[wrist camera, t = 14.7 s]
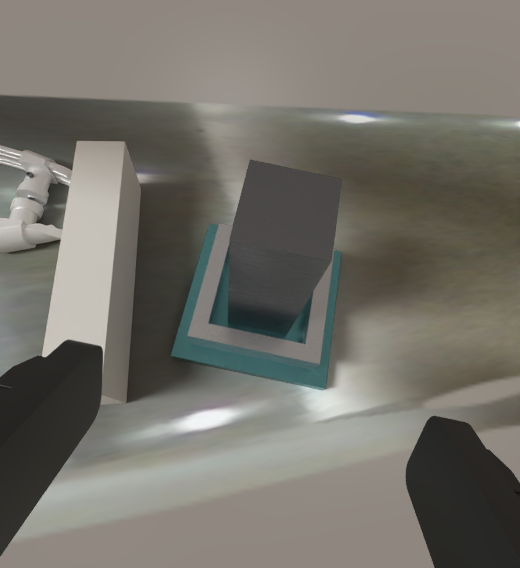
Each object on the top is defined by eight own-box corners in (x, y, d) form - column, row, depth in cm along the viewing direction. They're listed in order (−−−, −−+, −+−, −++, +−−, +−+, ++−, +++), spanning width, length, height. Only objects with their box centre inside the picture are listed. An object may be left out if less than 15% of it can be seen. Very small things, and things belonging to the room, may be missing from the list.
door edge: (126, 403, 22) (100, 394, 18) (74, 406, 22) (35, 398, 17) (141, 189, 28) (124, 141, 24) (101, 189, 28) (77, 141, 23)
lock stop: (227, 322, 24) (229, 239, 14) (240, 269, 25) (249, 159, 15) (286, 334, 24) (331, 261, 14) (295, 281, 25) (341, 179, 15)
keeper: (172, 358, 23) (165, 348, 21) (210, 229, 27) (208, 208, 25) (322, 390, 23) (334, 384, 21) (338, 257, 27) (350, 238, 25)
